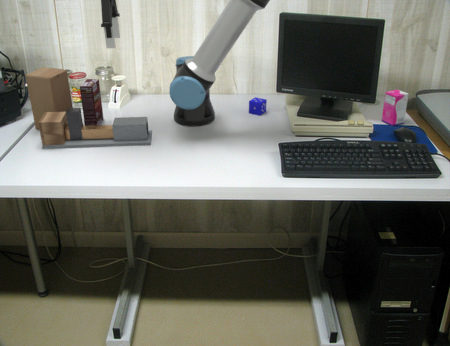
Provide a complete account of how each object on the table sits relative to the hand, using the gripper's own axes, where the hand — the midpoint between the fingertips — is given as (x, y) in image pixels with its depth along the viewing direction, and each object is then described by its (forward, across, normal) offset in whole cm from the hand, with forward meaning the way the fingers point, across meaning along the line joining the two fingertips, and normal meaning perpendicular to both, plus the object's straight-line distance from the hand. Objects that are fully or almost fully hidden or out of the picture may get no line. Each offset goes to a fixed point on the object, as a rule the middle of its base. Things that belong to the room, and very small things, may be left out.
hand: (113, 42), depth 160 cm
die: (+32, -14, +49) cm, 60 cm away
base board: (+31, +6, -8) cm, 33 cm away
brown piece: (+30, +6, -12) cm, 33 cm away
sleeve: (+31, +7, +3) cm, 32 cm away
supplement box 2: (+33, 0, +97) cm, 102 cm away
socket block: (+31, +6, -22) cm, 38 cm away
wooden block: (+31, -8, -25) cm, 41 cm away
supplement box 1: (+31, -8, -11) cm, 34 cm away
